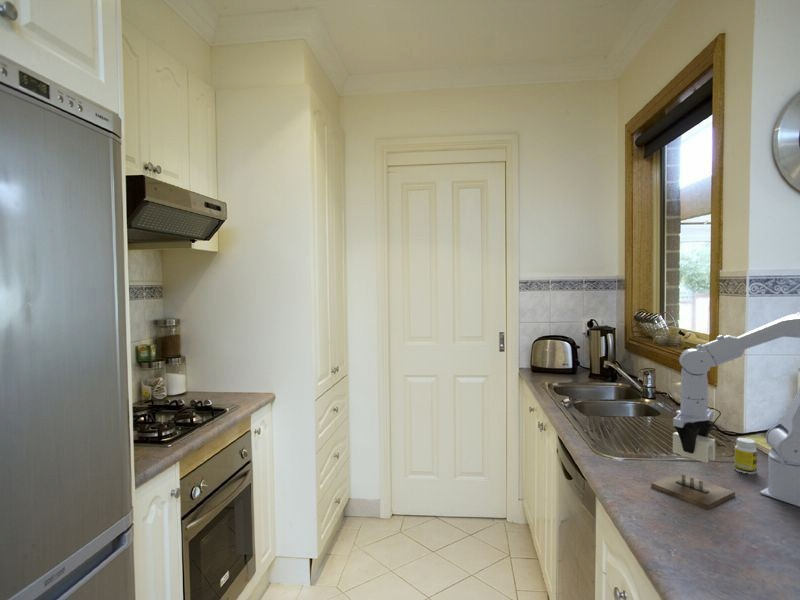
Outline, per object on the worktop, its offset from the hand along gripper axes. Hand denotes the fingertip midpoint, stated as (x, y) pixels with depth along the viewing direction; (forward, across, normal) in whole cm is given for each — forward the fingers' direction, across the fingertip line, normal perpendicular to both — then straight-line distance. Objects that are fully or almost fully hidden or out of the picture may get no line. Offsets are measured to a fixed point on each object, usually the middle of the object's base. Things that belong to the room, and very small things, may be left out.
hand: (693, 450), depth 114 cm
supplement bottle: (+9, -19, +3) cm, 21 cm away
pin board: (+8, +5, +2) cm, 10 cm away
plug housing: (+1, 0, 0) cm, 1 cm away
